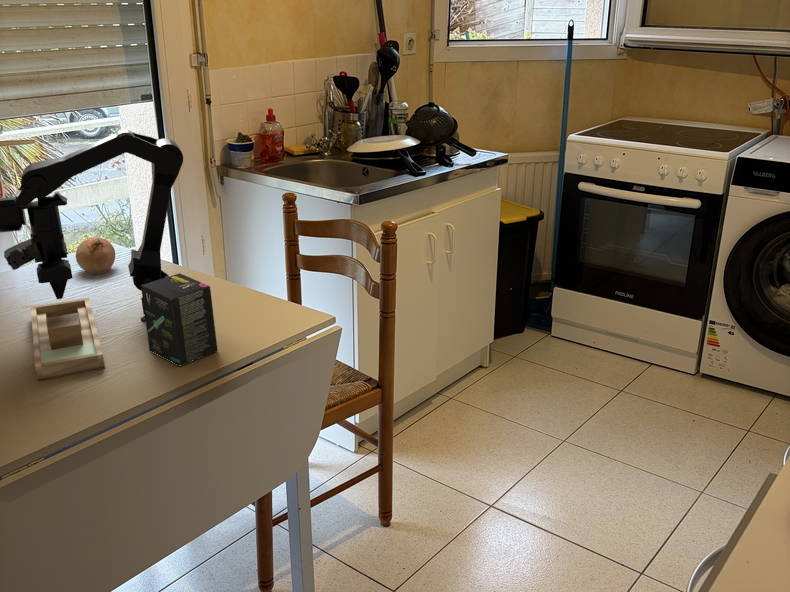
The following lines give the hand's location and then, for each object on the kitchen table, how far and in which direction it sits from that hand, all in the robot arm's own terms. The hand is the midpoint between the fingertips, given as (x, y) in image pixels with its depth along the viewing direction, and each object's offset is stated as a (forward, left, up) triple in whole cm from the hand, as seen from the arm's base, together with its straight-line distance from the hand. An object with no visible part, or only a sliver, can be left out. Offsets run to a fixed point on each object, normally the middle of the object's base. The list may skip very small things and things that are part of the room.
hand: (59, 298), depth 163 cm
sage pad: (-11, +11, -8) cm, 17 cm away
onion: (+17, -31, -8) cm, 36 cm away
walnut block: (-6, +6, -6) cm, 10 cm away
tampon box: (-29, -1, -8) cm, 30 cm away
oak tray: (-4, +4, -8) cm, 9 cm away
